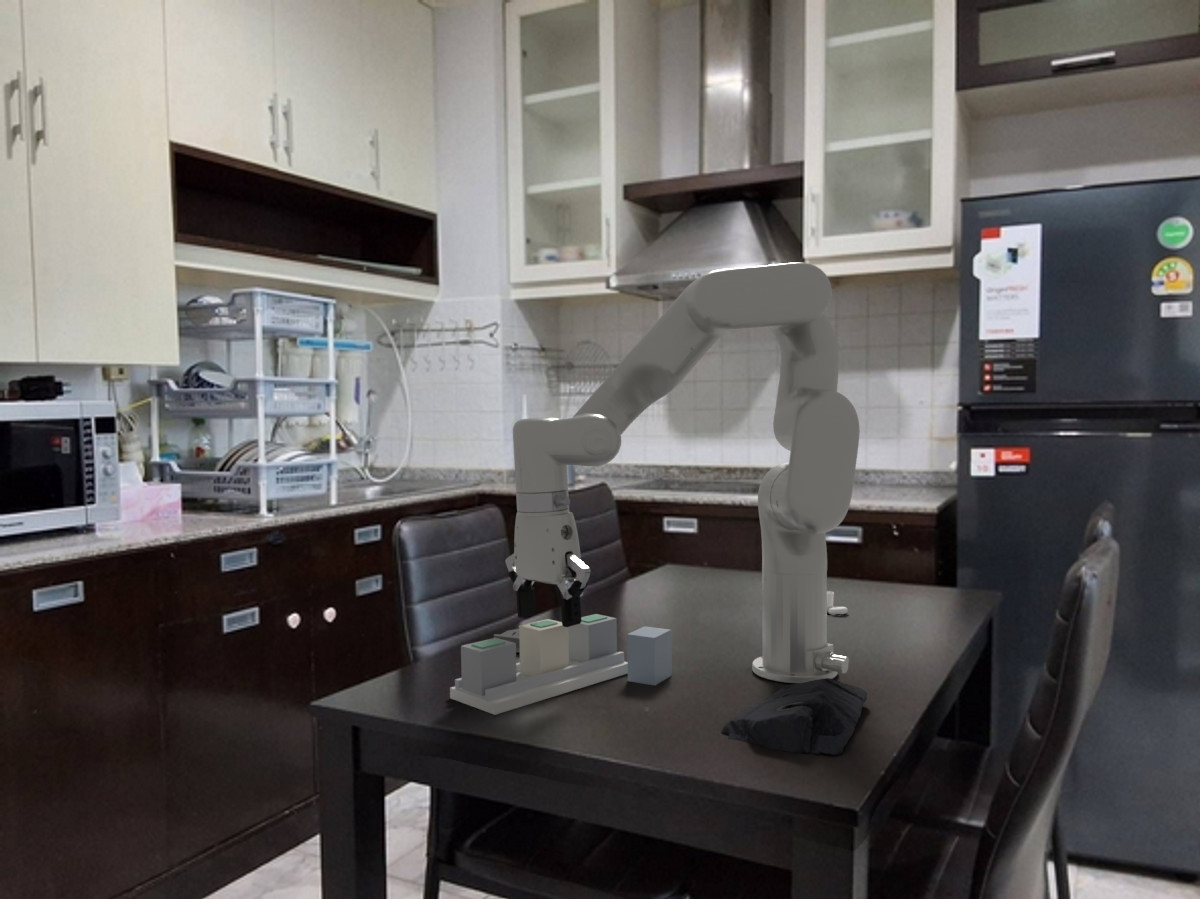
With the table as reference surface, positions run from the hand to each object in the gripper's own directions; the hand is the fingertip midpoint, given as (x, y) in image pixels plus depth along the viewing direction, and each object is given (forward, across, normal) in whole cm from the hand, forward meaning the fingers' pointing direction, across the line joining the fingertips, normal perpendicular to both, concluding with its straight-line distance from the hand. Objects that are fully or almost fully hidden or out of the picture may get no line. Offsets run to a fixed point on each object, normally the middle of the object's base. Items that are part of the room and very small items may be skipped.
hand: (549, 620), depth 133 cm
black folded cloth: (+11, -35, -12) cm, 38 cm away
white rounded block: (+12, -4, -65) cm, 67 cm away
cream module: (+7, 0, +1) cm, 8 cm away
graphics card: (+10, +16, -13) cm, 23 cm away
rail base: (+9, +1, +1) cm, 9 cm away
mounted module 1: (+7, +1, +11) cm, 13 cm away
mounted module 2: (+8, +1, -9) cm, 12 cm away
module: (+10, -8, -12) cm, 18 cm away
